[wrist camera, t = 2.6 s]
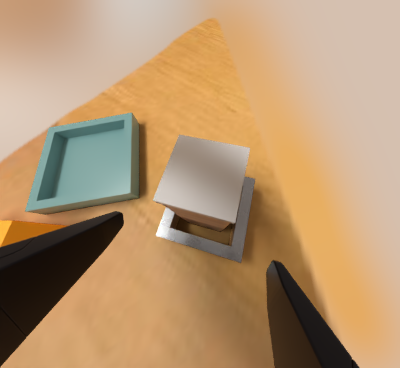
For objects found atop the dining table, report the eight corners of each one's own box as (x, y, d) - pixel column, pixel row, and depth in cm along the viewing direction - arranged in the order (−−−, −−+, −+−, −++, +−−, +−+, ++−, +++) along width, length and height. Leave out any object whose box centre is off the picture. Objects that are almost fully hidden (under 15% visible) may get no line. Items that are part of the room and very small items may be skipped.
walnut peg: (221, 232, 18) (235, 223, 7) (187, 222, 19) (152, 200, 8) (228, 199, 20) (250, 147, 9) (196, 191, 21) (179, 134, 10)
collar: (236, 259, 17) (241, 262, 14) (164, 236, 19) (155, 235, 16) (249, 187, 20) (255, 178, 18) (186, 172, 22) (182, 162, 19)
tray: (139, 198, 21) (130, 193, 19) (45, 214, 21) (25, 211, 19) (139, 123, 26) (131, 112, 24) (63, 137, 26) (48, 127, 24)
